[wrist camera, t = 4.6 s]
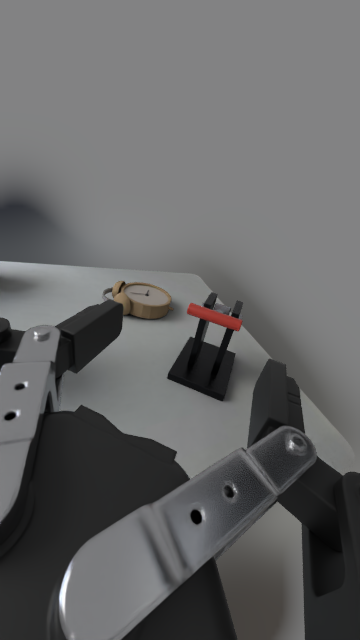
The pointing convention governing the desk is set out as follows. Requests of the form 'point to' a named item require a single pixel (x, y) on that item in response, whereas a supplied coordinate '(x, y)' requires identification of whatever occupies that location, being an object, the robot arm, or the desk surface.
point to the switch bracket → (206, 359)
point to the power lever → (215, 315)
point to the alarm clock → (140, 299)
